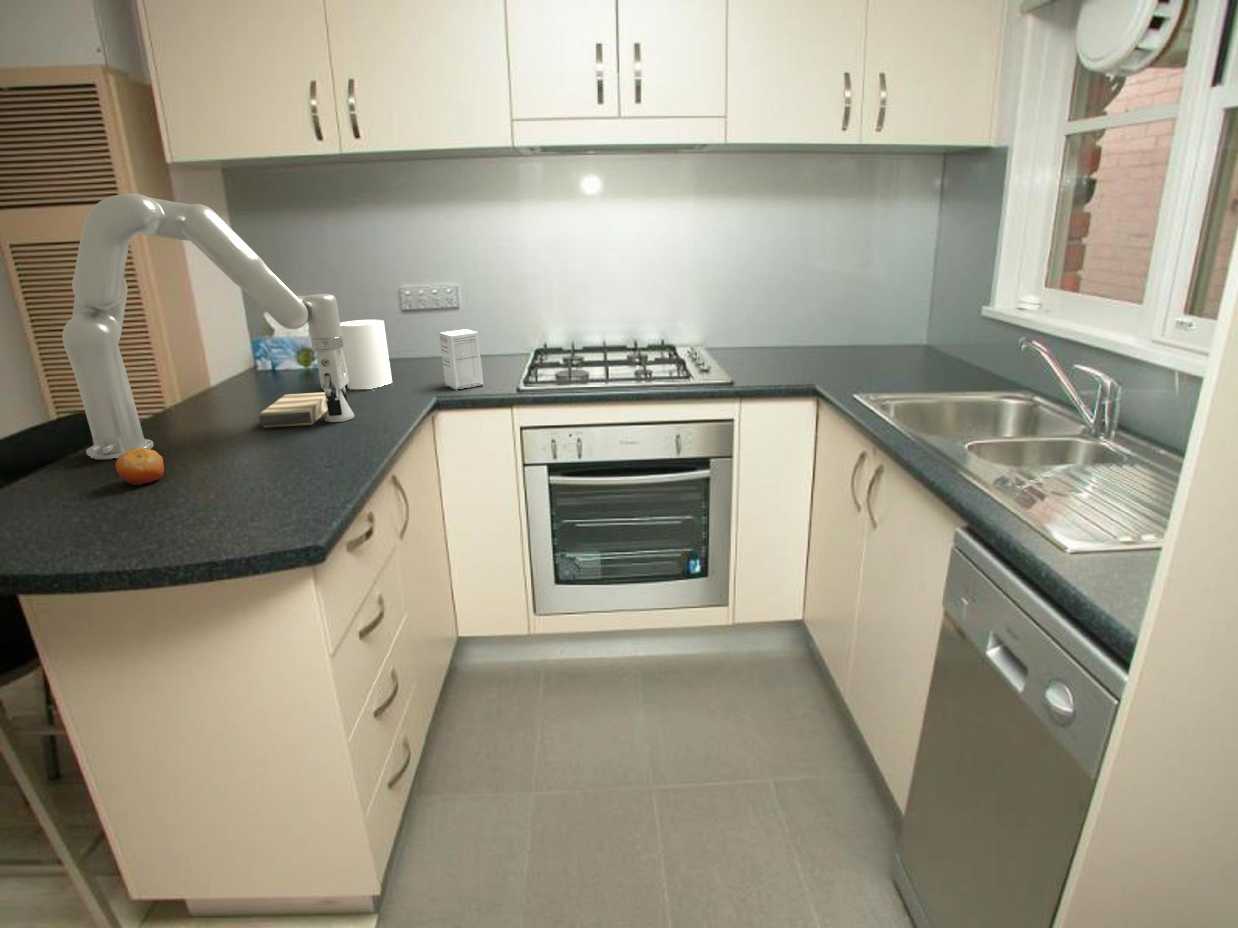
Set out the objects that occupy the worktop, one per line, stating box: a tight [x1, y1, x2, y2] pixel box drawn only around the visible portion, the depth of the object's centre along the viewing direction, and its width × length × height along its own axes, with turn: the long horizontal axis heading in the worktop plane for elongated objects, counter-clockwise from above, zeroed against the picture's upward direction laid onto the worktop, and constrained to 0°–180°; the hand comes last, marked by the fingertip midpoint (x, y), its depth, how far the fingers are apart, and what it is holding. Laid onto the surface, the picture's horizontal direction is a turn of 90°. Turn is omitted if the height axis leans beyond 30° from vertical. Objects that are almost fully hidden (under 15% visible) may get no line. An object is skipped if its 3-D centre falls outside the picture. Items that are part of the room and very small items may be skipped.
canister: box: [340, 319, 393, 390], centre depth 222 cm, size 14×14×20 cm
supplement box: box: [438, 328, 484, 388], centre depth 218 cm, size 10×9×17 cm
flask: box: [324, 387, 355, 423], centre depth 186 cm, size 7×7×10 cm
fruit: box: [115, 447, 165, 486], centre depth 144 cm, size 8×8×8 cm
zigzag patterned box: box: [258, 392, 328, 429], centre depth 191 cm, size 22×12×4 cm, turn 7°
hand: (338, 411), depth 187 cm, fingers open, 6 cm apart
